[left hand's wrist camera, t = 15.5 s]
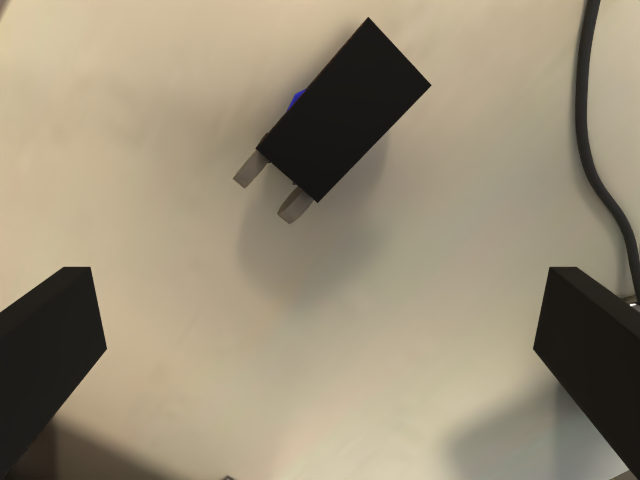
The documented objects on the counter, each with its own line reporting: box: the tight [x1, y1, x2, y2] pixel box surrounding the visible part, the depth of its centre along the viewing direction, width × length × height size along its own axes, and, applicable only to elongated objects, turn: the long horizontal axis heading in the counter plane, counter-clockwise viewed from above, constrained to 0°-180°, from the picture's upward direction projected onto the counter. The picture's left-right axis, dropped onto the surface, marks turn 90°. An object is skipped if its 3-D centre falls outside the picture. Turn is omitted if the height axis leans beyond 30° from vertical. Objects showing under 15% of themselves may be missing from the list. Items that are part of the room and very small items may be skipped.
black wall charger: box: [233, 17, 431, 224], centre depth 33 cm, size 7×8×15 cm
